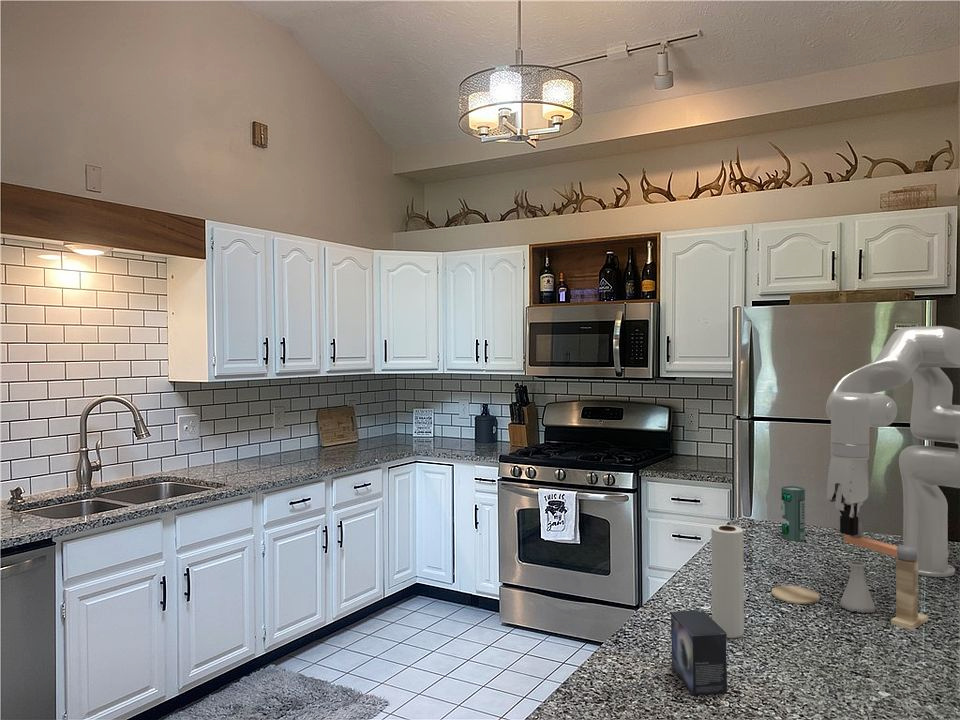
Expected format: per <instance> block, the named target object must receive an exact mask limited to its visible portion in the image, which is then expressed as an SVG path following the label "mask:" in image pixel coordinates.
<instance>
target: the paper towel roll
mask: <svg viewBox="0 0 960 720" xmlns="http://www.w3.org/2000/svg"><path fill="white" fill-rule="evenodd" d="M744 562H745V561H744V529H743V528H742V527H740V526H738V525H735V524H733V523H731V522H730V525H728V524H720V525H713V526H712V527H711V618H712V619H713V620H714V621H715V622H716V623H717V624H718V625H719V626H720V627H721V628H722V629H723V630H724V631H725V632H726V633H727V638H728V639H729V638H730V639H737V638H741V637H744V633H745V615H744V614H745V612H744V611H745V608H744V607H745V606H744V605H745V601H744V600H745V599H744V598H745V597H744V596H745V595H744V593H745V591H744V590H745V589H744V588H745V587H744V583H745V582H744V581H745V580H744V578H745V577H744V575H745V572H744V570H745V569H744V565H745V564H744ZM727 638H726V639H727Z"/></svg>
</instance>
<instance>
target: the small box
mask: <svg viewBox="0 0 960 720" xmlns="http://www.w3.org/2000/svg"><path fill="white" fill-rule="evenodd" d="M670 630H671V631H670V632H671V633H670V634H671V636H670V637H671V645H670V646H671V668H672V669H673V670H674V672H675V673H676V674H677V675H678V677H679V678H680V680H681V681H682V683H683V684H684V685H685V687H686V688H687V689H688V691H689V692H690V693H691V695H692V696H707V695H708V696H710V695H711V696H712V695H725V694H728V692H729V691H728V690H729V689H728V674H727V673H728V670H727V669H728V668H727V667H728V666H727V633H726V632H725V631H724V630H723V629H722V628H721V627H720V626H719V625H718V624H717V623H716V622H715V621H714V620H713V619H712V617H711V616H710V615H708V613H707V612H705V611H704V610H703V609H692V610H691V609H689V610H677V611H670Z"/></svg>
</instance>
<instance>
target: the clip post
mask: <svg viewBox="0 0 960 720" xmlns="http://www.w3.org/2000/svg"><path fill="white" fill-rule="evenodd" d="M895 567H896V568H895V576H896V577H895V598H896V599H895V602H896V603H895V608H896V609H895V610H896V611H895V614H896V615H895V617H892V618H891V619H890V625H892V626H895V625H896V626H895V627H899V628H902V627H903V628H902V629H906V630H910V631H913V630H916V629H917V628H918V627H920V626H922V625H924V624H925V623H926V622H928V621H929V615H927V614H925V613H920V612H919V575H918V560H916V561H907V560H902V559H899V558H896V560H895Z"/></svg>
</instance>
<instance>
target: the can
mask: <svg viewBox="0 0 960 720" xmlns="http://www.w3.org/2000/svg"><path fill="white" fill-rule="evenodd" d="M780 491H781V498H780V499H781V538H782V539H784V540H787V541H790V542H802V541H805V540H806V488H805V487H802V486H797V485H795V486H794V485H785V486H781V490H780Z"/></svg>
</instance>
